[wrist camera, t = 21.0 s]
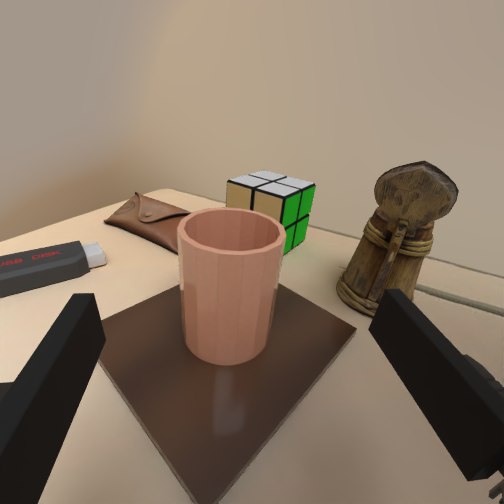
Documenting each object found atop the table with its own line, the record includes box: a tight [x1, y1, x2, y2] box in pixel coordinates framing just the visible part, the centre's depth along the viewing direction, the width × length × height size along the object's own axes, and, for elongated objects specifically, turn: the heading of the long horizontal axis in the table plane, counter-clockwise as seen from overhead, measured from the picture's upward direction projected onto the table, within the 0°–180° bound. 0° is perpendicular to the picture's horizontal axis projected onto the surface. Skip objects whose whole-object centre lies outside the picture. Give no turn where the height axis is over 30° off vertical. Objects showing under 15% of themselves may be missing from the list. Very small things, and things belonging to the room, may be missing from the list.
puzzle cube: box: [226, 170, 316, 255], centre depth 43 cm, size 10×10×10 cm
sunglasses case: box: [104, 192, 191, 253], centre depth 45 cm, size 18×7×7 cm, turn 60°
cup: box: [177, 207, 286, 366], centre depth 24 cm, size 8×8×11 cm
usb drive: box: [0, 241, 106, 298], centre depth 32 cm, size 5×12×3 cm, turn 128°
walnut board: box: [98, 283, 357, 504], centre depth 27 cm, size 18×20×1 cm
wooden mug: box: [337, 161, 458, 317], centre depth 29 cm, size 9×14×18 cm, turn 147°
